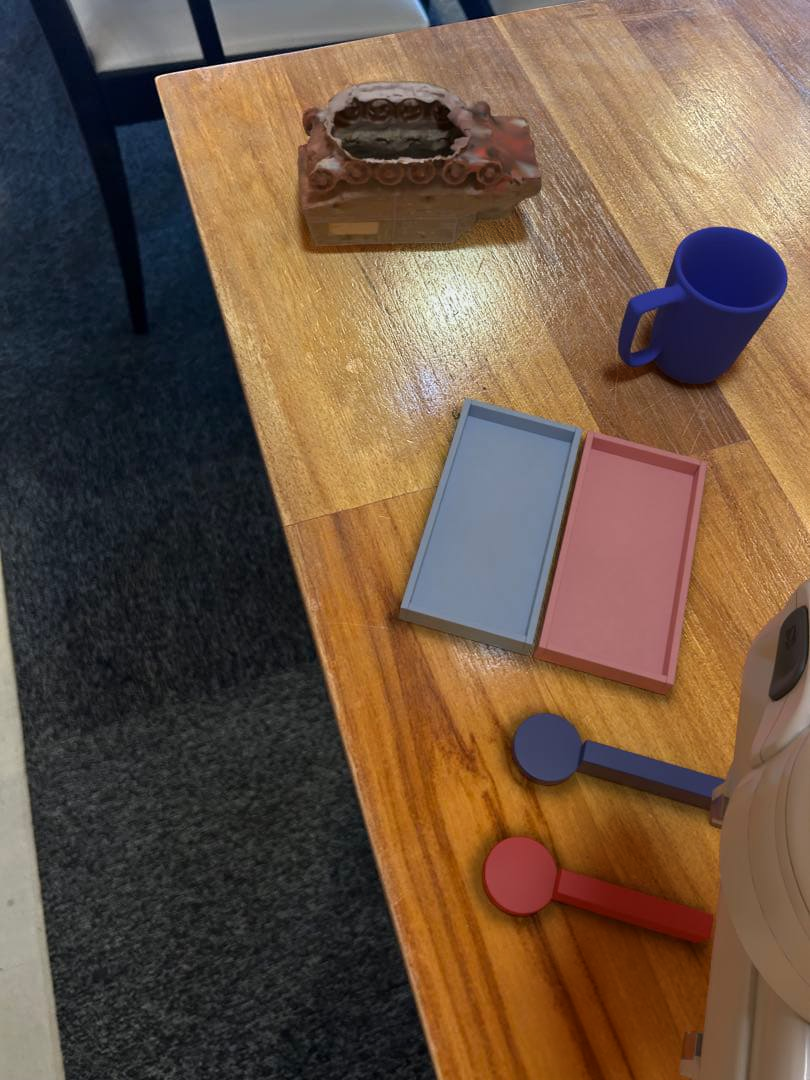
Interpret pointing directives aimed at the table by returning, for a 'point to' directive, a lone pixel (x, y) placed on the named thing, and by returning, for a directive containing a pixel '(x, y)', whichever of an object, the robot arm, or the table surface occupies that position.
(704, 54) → the table surface
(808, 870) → the robot arm
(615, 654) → the pink tray
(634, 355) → the mug
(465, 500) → the blue tray
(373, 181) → the decorative box
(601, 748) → the blue spoon
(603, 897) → the red spoon
